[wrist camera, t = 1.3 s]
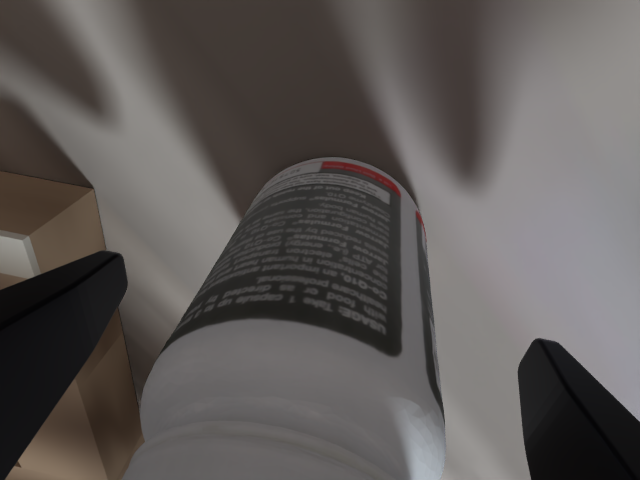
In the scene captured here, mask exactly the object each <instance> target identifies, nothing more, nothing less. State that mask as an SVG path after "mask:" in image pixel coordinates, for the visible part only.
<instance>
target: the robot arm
mask: <svg viewBox="0 0 640 480" xmlns="http://www.w3.org/2000/svg"><path fill="white" fill-rule="evenodd" d="M127 284H128V282H127V275H126V270H125V264H124V259H123V257H122V255H121V254H119V253H116V252H111V251H106V250H102V251H98V252H96V253H93V254H91V255H88V256H86V257H83V258H80V259H78V260H75V261H73V262H70V263H68V264H65V265H63V266H60V267H57V268H55V269H52V270H50V271H47V272H45V273H42V274H39V275H37V276H34V277H32V278H29V279H27V280H24V281H22V282H19V283H16V284H14V285H11V286H9V287H6V288H4V289H1V290H0V480H5V479H6V477H7V476H8V474H9V473H10V472H11V470H12V469H13V467H14V466H15V464H16V463H17V461H18V460H19V458H20V457H21V456H22V454H23V453H24V451H25V450H26V448H27V447H28V445H29V444H30V443H31V441H32V440H33V438H34V437H35V435H36V434H37V432H38V431H39V429H40V428H41V427H42V425H43V424H44V422H45V421H46V419H47V418H48V416H49V415H50V413H51V412H52V411H53V409H54V408H55V406H56V405H57V403H58V402H59V400H60V399H61V398H62V396H63V395H64V393H65V392H66V390H67V389H68V387H69V386H70V384H71V383H72V382H73V380H74V379H75V377H76V376H77V374H78V373H79V371H80V370H81V369H82V367H83V366H84V364H85V363H86V361H87V360H88V358H89V357H90V355H91V354H92V352H93V351H94V349H95V347H96V346H97V344H98V342H99V340H100V339H101V337H102V335H103V333H104V331H105V329H106V328H107V326H108V324H109V322H110V320H111V318H112V316H113V315H114V313H115V311H116V309H117V307H118V305H119V304H120V302H121V300H122V298H123V296H124V294H125V292H126V290H127ZM518 382H519V394H520V405H521V416H522V428H523V438H524V445H525V451H526V457H527V462H528V466H529V471H530V476H531V480H640V422H639V421H638V420H637V419H636V418H635V417H634V416H633V415H632V414H631V413H630V412H629V411H628V410H627V409H626V408H625V407H624V406H623V405H622V404H621V403H620V402H619V401H618V400H617V399H616V398H615V397H614V396H613V395H612V394H611V393H610V392H609V391H608V390H606V389H605V388H604V387H603V386H602V385H601V384H600V383H599V382H598V381H597V380H596V379H595V378H594V377H593V376H592V375H591V374H590V373H589V372H588V371H587V370H586V369H585V368H584V367H583V366H582V365H581V364H580V363H579V362H578V361H577V360H576V359H575V358H574V357H573V356H572V355H571V354H570V353H569V352H568V351H566V350H565V349H564V348H563V347H562V346H561V345H560V344H559V343H558V342H555V341H551V340H546V339H541V338H537V339H535V340H534V341H533V342H532V343H531V345H530V347H529V348H528V350H527V352H526V353H525V355H524V357H523V359H522V360H521V362H520V364H519V367H518Z"/></svg>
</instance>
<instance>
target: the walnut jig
mask: <svg viewBox="0 0 640 480" xmlns="http://www.w3.org/2000/svg"><path fill="white" fill-rule="evenodd" d="M102 250H106V247H105V242H104V237H103V232H102V227H101V222H100V217H99V212H98V208H97V203H96V198H95V193H94V189H91V188H86V187H81V186H76V185H70V184H65V183H60V182H55V181H50V180H45V179H39V178H34V177H29V176H24V175H19V174H13V173H8V172H3V171H0V290H1V289H4V288H6V287H9V286H11V285H14V284H16V283H19V282H22V281H24V280H27V279H29V278H32V277H34V276H37V275H39V274H42V273H45V272H47V271H50V270H52V269H55V268H57V267H60V266H63V265H65V264H68V263H70V262H73V261H75V260H78V259H80V258H83V257H86V256H88V255H91V254H93V253H96V252H98V251H102ZM143 443H145V440H144V436H143V433H142V428H141V421H140V414H139V409H138V404H137V399H136V394H135V389H134V384H133V379H132V374H131V370H130V365H129V360H128V355H127V350H126V345H125V340H124V335H123V330H122V325H121V320H120V316H119V311H118V307H117V309H116V311H115V313H114V315H113V316H112V318H111V320H110V322H109V324H108V326H107V328H106V329H105V331H104V333H103V335H102V337H101V339H100V340H99V342H98V344H97V346H96V347H95V349H94V351H93V352H92V354H91V355H90V357H89V358H88V360H87V361H86V363H85V364H84V366H83V367H82V369H81V370H80V371H79V373H78V374H77V376H76V377H75V379H74V380H73V382H72V383H71V384H70V386H69V387H68V389H67V390H66V392H65V393H64V395H63V396H62V398H61V399H60V400H59V402H58V403H57V405H56V406H55V408H54V409H53V411H52V412H51V413H50V415H49V416H48V418H47V419H46V421H45V422H44V424H43V425H42V427H41V428H40V429H39V431H38V432H37V434H36V435H35V437H34V438H33V440H32V441H31V443H30V444H29V445H28V447H27V448H26V450H25V451H24V453H23V454H22V456H21V457H20V458H19V460H18V461H17V463H16V464H15V466H14V467H13V469H12V470H11V472H10V473H9V474H8V476H7V477H6V479H5V480H122V478H123V476H124V474H125V472H126V470H127V469H128V467H129V464H130V461H131V458H132V457H133V455H134V453H135V452H136V451H137V449H138V448H139V447H140V446H141V445H142V444H143Z"/></svg>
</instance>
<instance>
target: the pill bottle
mask: <svg viewBox="0 0 640 480" xmlns="http://www.w3.org/2000/svg"><path fill="white" fill-rule="evenodd" d="M140 421H141V428H142V433H143V436H144V440H145V443H143V444H142V445H141V446H140V447H139V448H138V449H137V451H136V452H135V453H134V455H133V457H132V458H131V461H130V464H129V467H128V469H127V470H126V472H125V474H124V476H123V478H122V480H440V478H441V475H442V472H443V468H444V463H445V452H446V441H445V419H444V409H443V402H442V394H441V385H440V377H439V366H438V357H437V348H436V336H435V327H434V317H433V308H432V299H431V290H430V277H429V268H428V257H427V245H426V233H425V228H424V224H423V221H422V218H421V215H420V212H419V210H418V208H417V206H416V205H415V203H414V201H413V199H412V198H411V197H410V195H409V194H408V192H407V191H406V190H405V189H404V188H403V187H402V186H401V185H400V184H399V183H398V182H397V181H396V180H395V179H393V178H392V177H391V176H389V175H388V174H386V173H385V172H383V171H381V170H380V169H378V168H376V167H374V166H372V165H369V164H366V163H363V162H360V161H357V160H353V159H348V158H341V157H324V158H317V159H311V160H307V161H303V162H301V163H298V164H295V165H293V166H291V167H288V168H286V169H284V170H283V171H281V172H280V173H278V174H277V175H275V176H274V177H273V178H272V179H270V180H269V181H268V182H267V183H266V184H265V185H264V187H263V188H262V189H261V190H260V192H259V193H258V195H257V196H256V197H255V199H254V201H253V202H252V204H251V206H250V207H249V209H248V210H247V212H246V214H245V216H244V218H243V219H242V221H241V222H240V224H239V225H238V227H237V229H236V230H235V232H234V234H233V235H232V237H231V239H230V241H229V242H228V244H227V246H226V247H225V249H224V251H223V252H222V254H221V256H220V257H219V259H218V260H217V262H216V263H215V265H214V267H213V268H212V270H211V272H210V273H209V275H208V277H207V278H206V280H205V282H204V283H203V285H202V287H201V288H200V290H199V291H198V293H197V295H196V296H195V298H194V299H193V301H192V303H191V304H190V306H189V308H188V309H187V311H186V312H185V314H184V316H183V317H182V319H181V321H180V322H179V324H178V326H177V327H176V329H175V330H174V332H173V334H172V335H171V337H170V338H169V340H168V341H167V343H166V344H165V346H164V348H163V350H162V351H161V353H160V355H159V356H158V358H157V360H156V361H155V364H154V366H153V368H152V370H151V372H150V374H149V376H148V378H147V381H146V383H145V385H144V389H143V393H142V397H141V406H140Z"/></svg>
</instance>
